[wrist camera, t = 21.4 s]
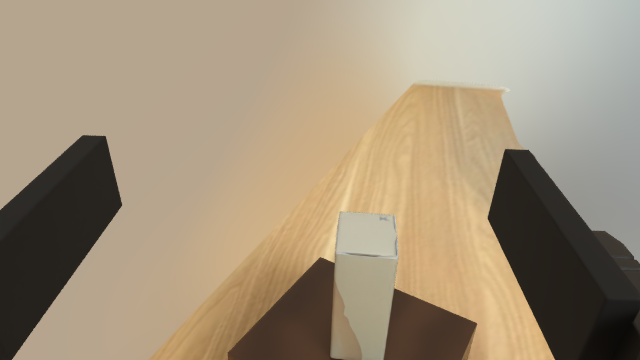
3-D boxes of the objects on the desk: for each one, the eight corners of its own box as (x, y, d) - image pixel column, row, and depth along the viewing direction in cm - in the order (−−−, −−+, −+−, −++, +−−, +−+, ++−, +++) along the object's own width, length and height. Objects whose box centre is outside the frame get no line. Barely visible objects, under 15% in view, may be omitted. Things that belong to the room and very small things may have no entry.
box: (334, 311, 41) (339, 207, 35) (383, 316, 40) (396, 211, 35) (329, 361, 36) (334, 251, 31) (384, 367, 36) (399, 256, 30)
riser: (232, 392, 39) (227, 353, 37) (319, 292, 50) (320, 256, 47) (407, 504, 32) (416, 465, 30) (466, 361, 43) (477, 323, 40)
